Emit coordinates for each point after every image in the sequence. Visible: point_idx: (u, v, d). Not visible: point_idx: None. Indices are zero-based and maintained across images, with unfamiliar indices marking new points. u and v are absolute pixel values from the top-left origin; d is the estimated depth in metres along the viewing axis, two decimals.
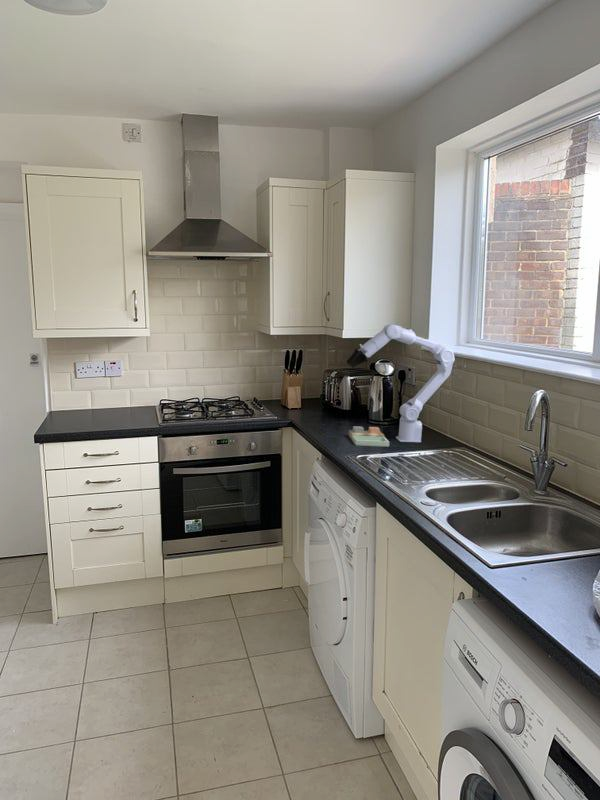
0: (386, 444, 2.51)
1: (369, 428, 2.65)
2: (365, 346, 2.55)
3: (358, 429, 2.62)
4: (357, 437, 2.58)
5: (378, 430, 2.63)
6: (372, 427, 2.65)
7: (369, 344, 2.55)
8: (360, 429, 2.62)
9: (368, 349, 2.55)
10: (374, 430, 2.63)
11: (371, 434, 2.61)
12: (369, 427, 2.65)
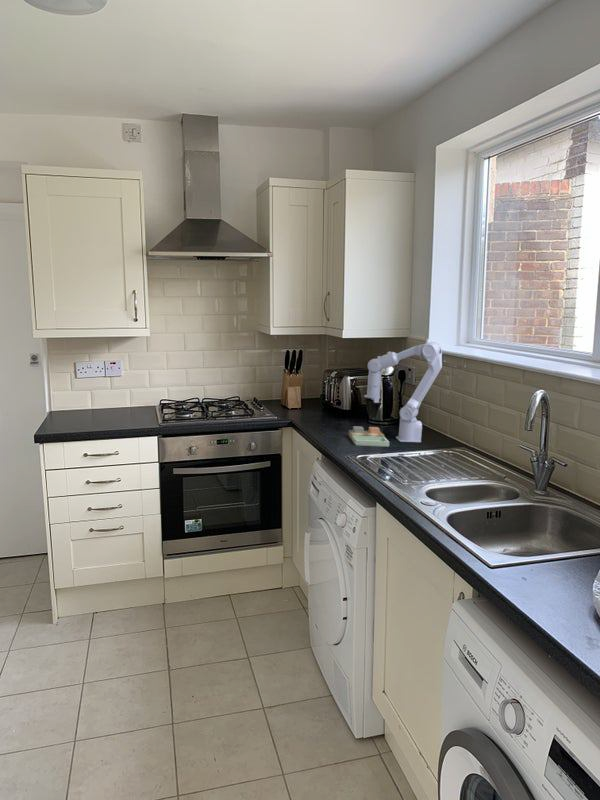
0: (386, 444, 2.51)
1: (369, 428, 2.65)
2: (369, 394, 2.67)
3: (358, 429, 2.62)
4: (357, 437, 2.58)
5: (378, 430, 2.63)
6: (372, 427, 2.65)
7: (370, 391, 2.67)
8: (360, 429, 2.62)
9: (373, 394, 2.66)
10: (374, 430, 2.63)
11: (371, 434, 2.61)
12: (369, 427, 2.65)
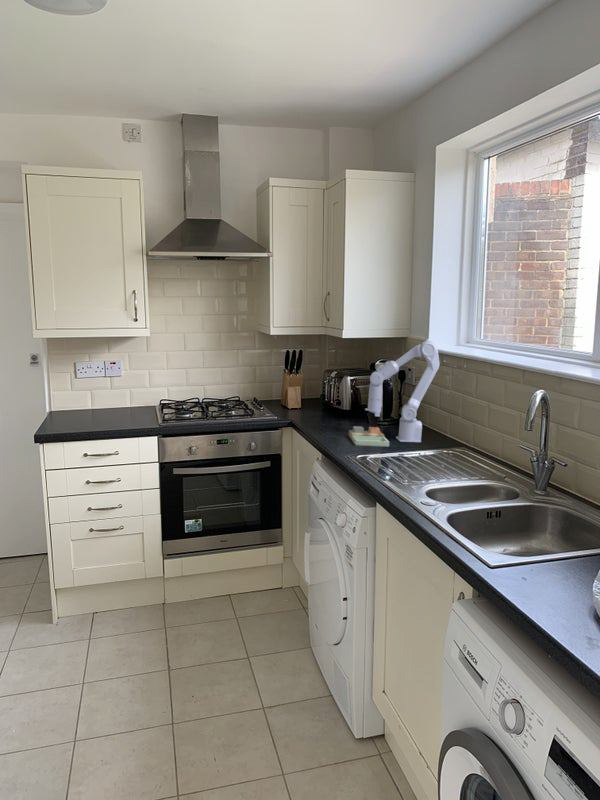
0: (386, 444, 2.51)
1: (369, 428, 2.65)
2: (370, 407, 2.64)
3: (358, 429, 2.62)
4: (357, 437, 2.58)
5: (378, 430, 2.63)
6: (372, 427, 2.65)
7: (371, 404, 2.64)
8: (360, 429, 2.62)
9: (374, 408, 2.63)
10: (374, 430, 2.63)
11: (371, 434, 2.61)
12: (369, 427, 2.65)
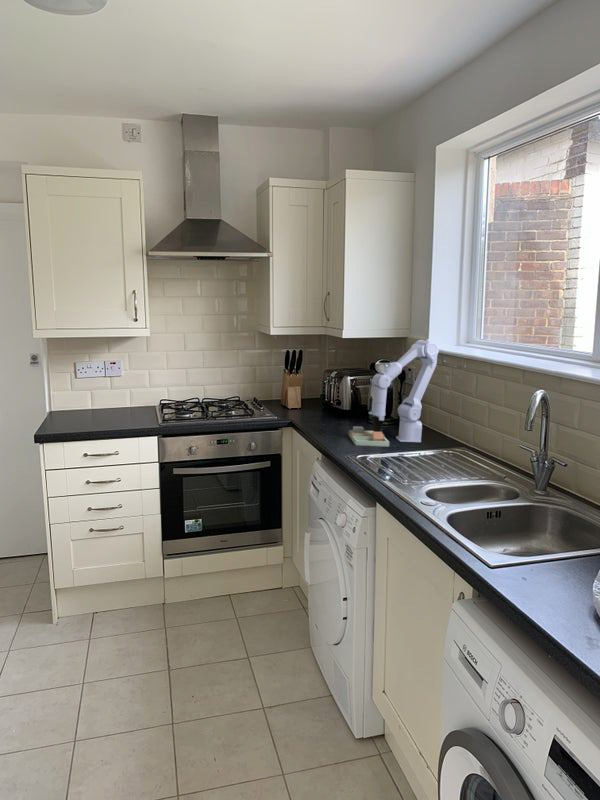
0: (386, 444, 2.51)
1: (372, 434, 2.57)
2: (374, 411, 2.56)
3: (358, 429, 2.62)
4: (357, 437, 2.58)
5: (381, 439, 2.56)
6: (376, 433, 2.57)
7: (375, 408, 2.55)
8: (360, 429, 2.62)
9: (378, 411, 2.55)
10: (377, 439, 2.56)
11: (371, 434, 2.61)
12: (373, 433, 2.57)
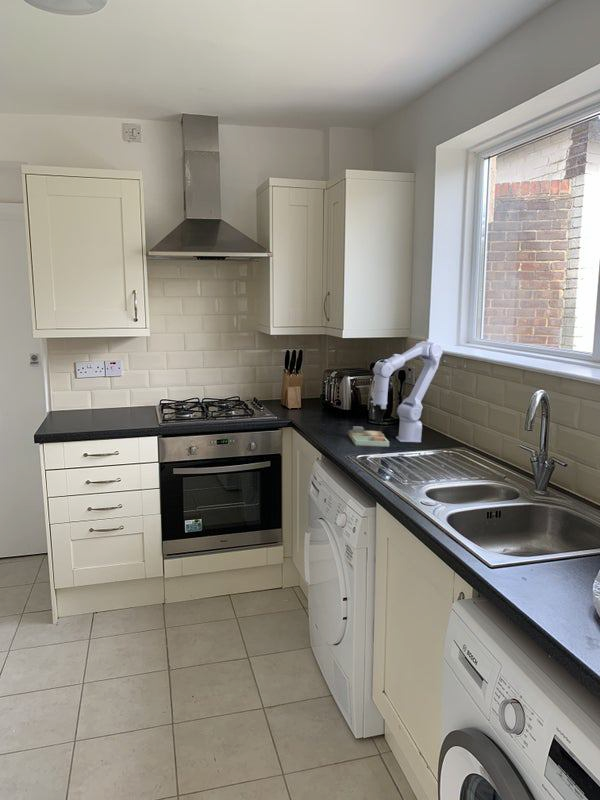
0: (386, 444, 2.51)
1: (373, 437, 2.57)
2: (376, 400, 2.53)
3: (358, 429, 2.62)
4: (357, 437, 2.58)
5: (382, 439, 2.54)
6: (376, 436, 2.57)
7: (377, 396, 2.53)
8: (360, 429, 2.62)
9: (380, 400, 2.53)
10: (378, 439, 2.54)
11: (371, 434, 2.61)
12: (373, 436, 2.57)
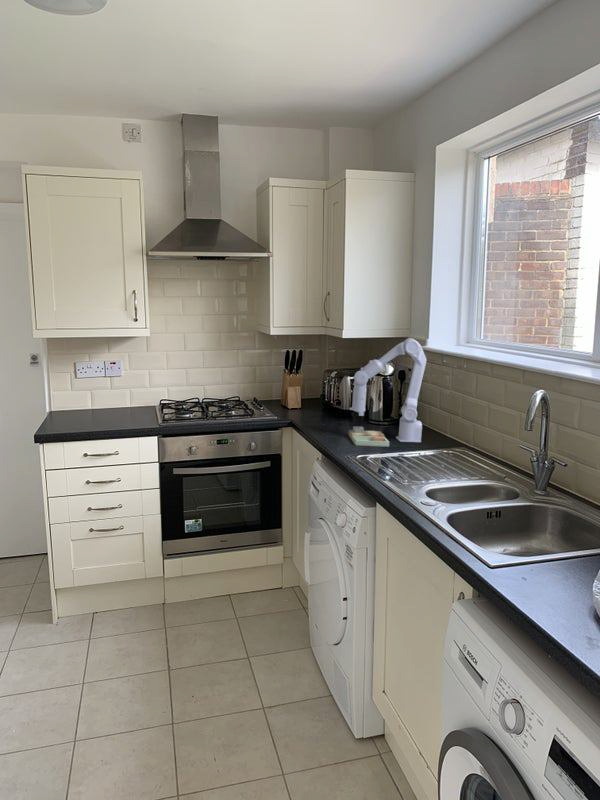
0: (386, 444, 2.51)
1: (373, 437, 2.57)
2: (354, 407, 2.63)
3: (358, 429, 2.62)
4: (357, 437, 2.58)
5: (382, 439, 2.54)
6: (376, 436, 2.57)
7: (355, 403, 2.63)
8: (360, 429, 2.62)
9: (358, 407, 2.63)
10: (378, 439, 2.54)
11: (371, 434, 2.61)
12: (373, 436, 2.57)
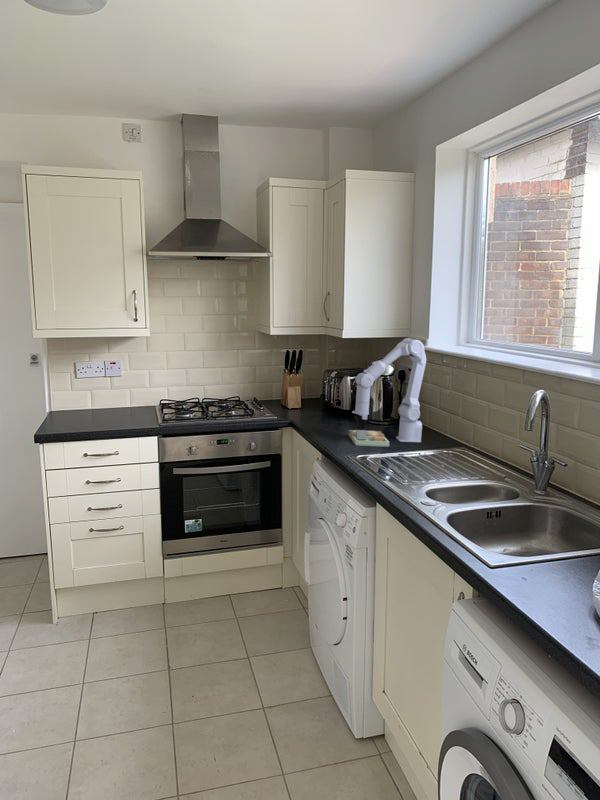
0: (386, 444, 2.51)
1: (373, 437, 2.57)
2: (357, 410, 2.56)
3: (360, 439, 2.56)
4: None
5: (382, 439, 2.54)
6: (376, 436, 2.57)
7: (358, 407, 2.55)
8: (362, 439, 2.56)
9: (362, 410, 2.55)
10: (378, 439, 2.54)
11: (371, 434, 2.61)
12: (373, 436, 2.57)
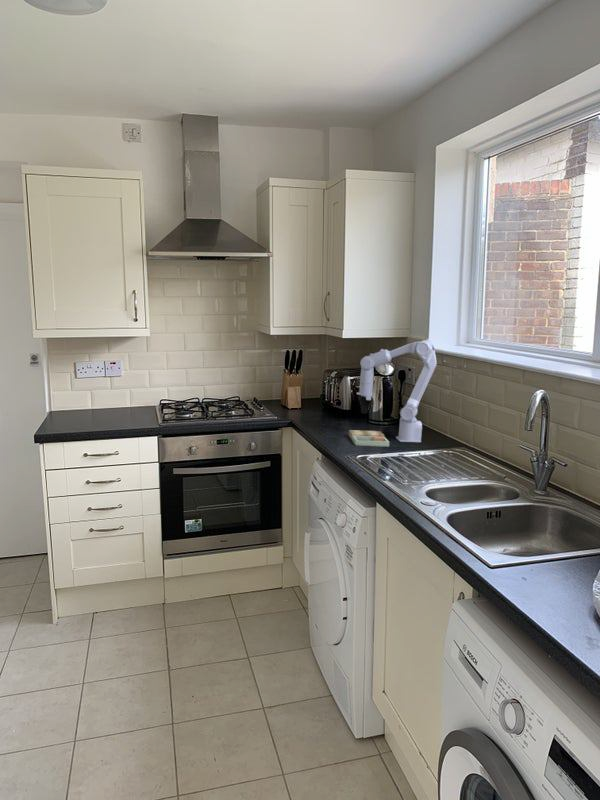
0: (386, 444, 2.51)
1: (373, 437, 2.57)
2: (361, 391, 2.67)
3: None
4: None
5: (382, 439, 2.54)
6: (376, 436, 2.57)
7: (362, 388, 2.66)
8: None
9: (365, 392, 2.66)
10: (378, 439, 2.54)
11: (371, 434, 2.61)
12: (373, 436, 2.57)
